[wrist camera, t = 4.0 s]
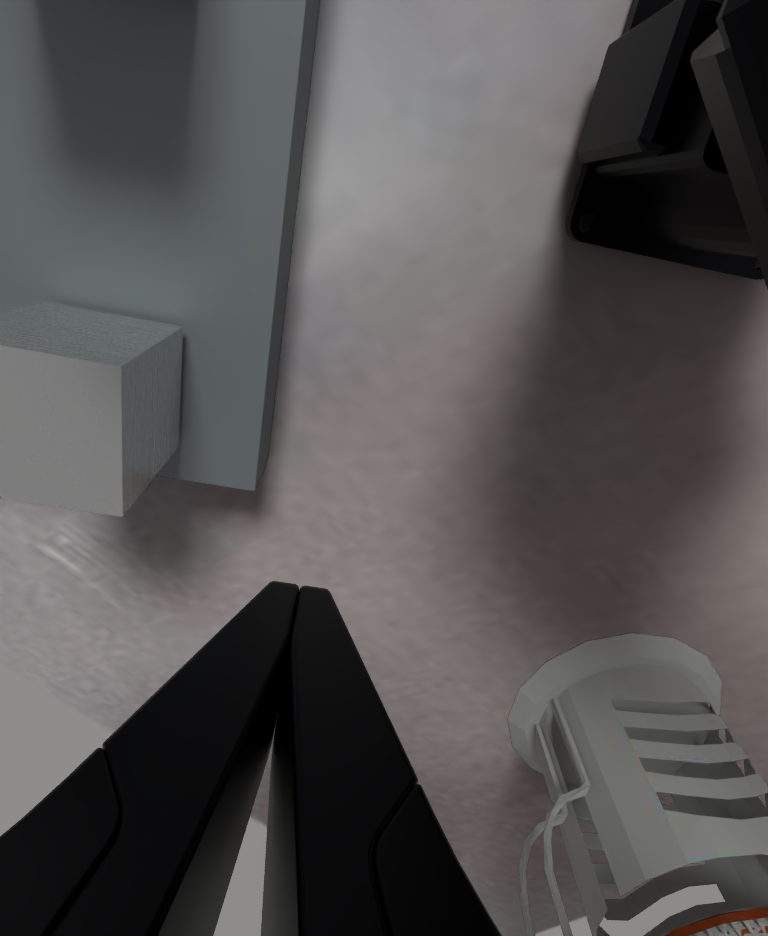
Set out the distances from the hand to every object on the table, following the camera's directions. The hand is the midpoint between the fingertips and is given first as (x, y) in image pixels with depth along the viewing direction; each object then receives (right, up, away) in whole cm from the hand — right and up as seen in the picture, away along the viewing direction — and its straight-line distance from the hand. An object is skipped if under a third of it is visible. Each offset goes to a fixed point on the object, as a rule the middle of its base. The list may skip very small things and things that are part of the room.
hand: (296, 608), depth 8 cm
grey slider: (-6, +5, +7) cm, 10 cm away
